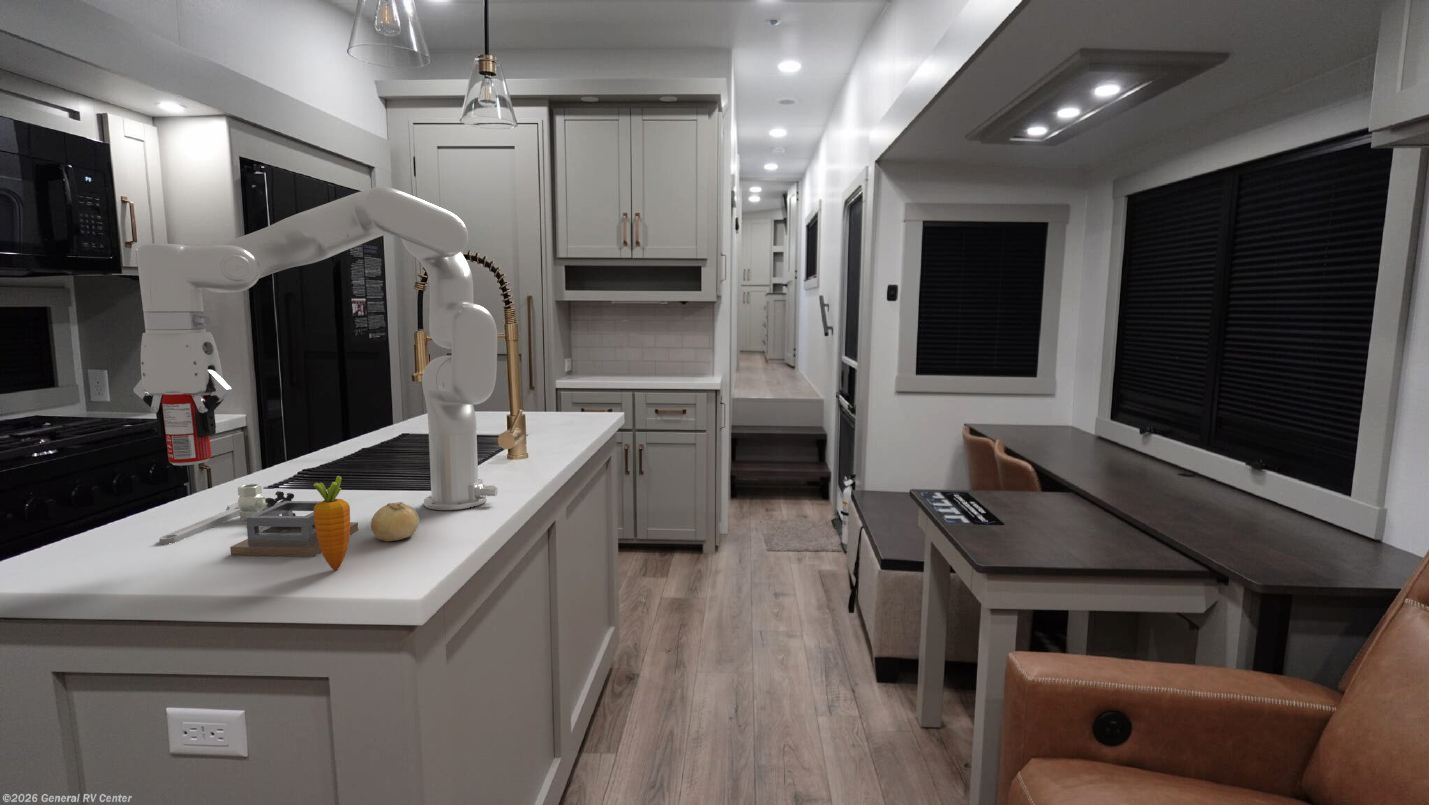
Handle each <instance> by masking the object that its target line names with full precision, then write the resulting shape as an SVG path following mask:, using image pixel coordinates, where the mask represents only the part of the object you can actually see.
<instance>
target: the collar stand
mask: <svg viewBox="0 0 1429 805" xmlns="http://www.w3.org/2000/svg"><path fill="white" fill-rule="evenodd" d="M321 501H322V500H321ZM321 501H320V500H317V501H315V500H312V501H311V500H310V501H309V500H292V501H284V502H282V503H279V504H277V505H275V506H272V507H270V508H268V509H265V510H263V511H261V512H258V513H256V514H254V515H251V516H249V517H247V518H246V533H247V538H246V539H244V540H242V541H240V542H238V543H235V544H233V545H231V546H229V550H230V556H234V557H235V556H237V557H238V556H239V557H240V556H242V557H243V556H246V557H249V556H250V557H252V556H253V557H257V556H258V557H266V556H267V557H316V556H318V555H319V554H322V552H321V549H320V546H319V542H318V539H317V535H316V528H315V520H314V506H315V505H316V504H317V503H319V502H321ZM294 512H310V513H308V514H307V515H296V516H293V513H294ZM278 515H279V516H278ZM260 527H262V528H260ZM358 531H359V522H354V521H352V522H351V521H350V536H351V535H352V534H355V533H356V532H358Z"/></svg>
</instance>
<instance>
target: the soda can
mask: <svg viewBox="0 0 1429 805" xmlns="http://www.w3.org/2000/svg"><path fill="white" fill-rule="evenodd" d="M203 398H204V397H203ZM204 400H205V399H204ZM205 402H206V401H205ZM162 408H163V417H164V425H165V434H166V437H165V441H166V442H165V443H166V449H167V457H168V458H167V459H168V462H169V464H172V465H173V466H192V465H199V464H203V463H208V462H209V460H211V458H212V456H213V455H212V448H211V438H210V436H206V437H198V436H197V427H196V418H195V414H196V413H198V412H199V410H198V408H197V406H196V404H195V401H194V399H193V397H192V395H186V394H183V393H182V392H179V393H166V392H164V395H163V399H162Z"/></svg>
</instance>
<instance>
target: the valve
mask: <svg viewBox="0 0 1429 805" xmlns="http://www.w3.org/2000/svg"><path fill="white" fill-rule="evenodd" d="M237 493H238V494H237V496H239V497H238V500H237V502H238V507H239V508H240V510H241V511H240V516H239V519H240V520H242V521H245V520H246V518H247V517H249V516H251V515H254V514H256V513H258V512H261V511H263V510H265V509H268V508H270V507H272V506H275V505H277V504H279V503H282V502H284V501H293V499H294V498H295V493H293V492H287V493H286V494H285V493H284V491H280V490H277V491H276V492H275V495H274V496H276V497H275V498H272V497H267V496H263V495H262V494H261V493H262V484H260V483H248V484H247V483H245V484H241V485H240V486H238V487H237ZM285 495H286V496H285ZM278 516H280V515H278ZM293 516H297V514H296V513H295V512H293Z"/></svg>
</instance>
